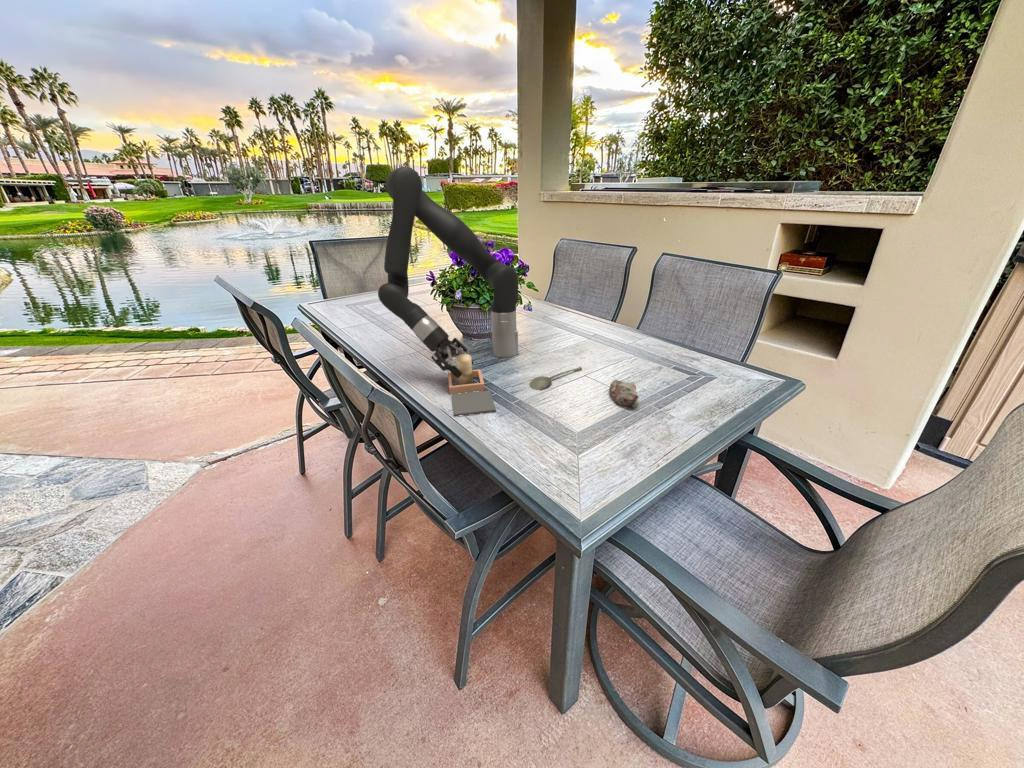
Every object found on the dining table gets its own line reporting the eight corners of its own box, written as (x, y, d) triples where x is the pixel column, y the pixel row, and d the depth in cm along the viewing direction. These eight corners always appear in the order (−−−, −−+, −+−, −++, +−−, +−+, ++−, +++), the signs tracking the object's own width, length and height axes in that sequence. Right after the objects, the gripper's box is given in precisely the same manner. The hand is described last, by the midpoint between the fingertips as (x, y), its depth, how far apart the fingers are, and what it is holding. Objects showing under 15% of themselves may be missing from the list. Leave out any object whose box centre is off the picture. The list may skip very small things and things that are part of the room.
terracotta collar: (480, 375, 134) (480, 369, 133) (484, 390, 125) (484, 383, 124) (448, 379, 133) (447, 372, 132) (449, 394, 123) (449, 387, 122)
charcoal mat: (490, 392, 124) (490, 390, 123) (495, 411, 113) (495, 409, 113) (451, 396, 122) (451, 394, 121) (454, 416, 111) (453, 414, 111)
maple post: (472, 381, 131) (470, 353, 127) (474, 387, 127) (471, 359, 122) (458, 382, 130) (455, 354, 126) (459, 389, 126) (456, 360, 122)
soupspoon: (525, 387, 129) (537, 396, 124) (524, 378, 127) (537, 386, 122) (574, 367, 139) (587, 374, 135) (574, 359, 138) (588, 365, 133)
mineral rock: (608, 385, 126) (609, 373, 124) (634, 387, 124) (635, 375, 122) (608, 409, 113) (609, 396, 111) (637, 411, 112) (639, 398, 110)
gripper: (425, 333, 116) (463, 373, 118) (447, 319, 128) (482, 355, 130) (412, 348, 120) (449, 386, 122) (435, 333, 132) (468, 368, 134)
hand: (466, 370), depth 126 cm, fingers open, 8 cm apart
